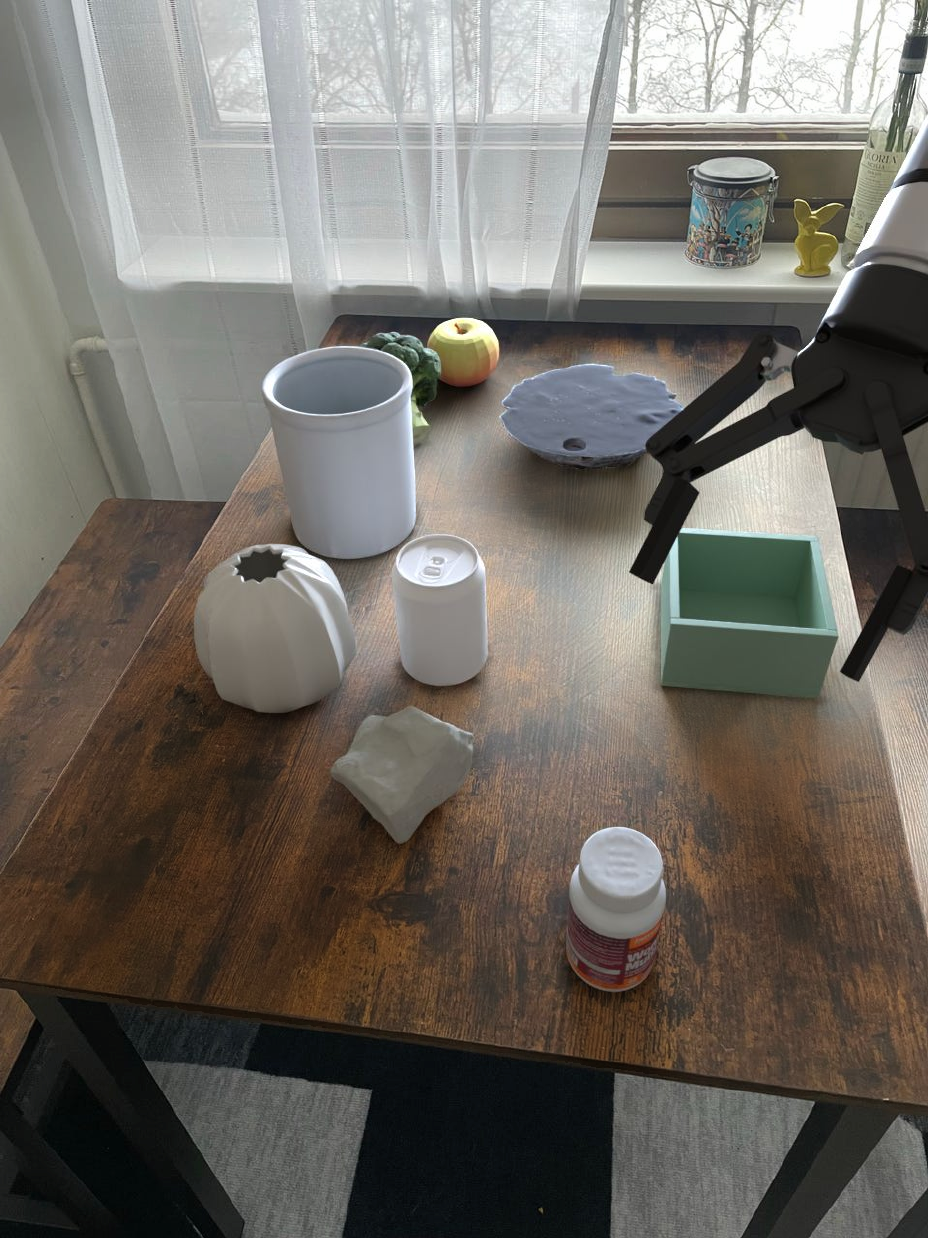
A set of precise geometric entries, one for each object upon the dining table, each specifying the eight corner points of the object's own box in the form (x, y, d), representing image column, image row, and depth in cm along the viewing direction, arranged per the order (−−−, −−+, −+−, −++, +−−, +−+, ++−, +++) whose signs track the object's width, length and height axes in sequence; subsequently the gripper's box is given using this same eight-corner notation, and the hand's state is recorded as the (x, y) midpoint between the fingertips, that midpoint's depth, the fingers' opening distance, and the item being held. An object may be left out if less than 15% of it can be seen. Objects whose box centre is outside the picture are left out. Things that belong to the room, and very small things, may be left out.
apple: (414, 376, 127) (409, 320, 122) (470, 354, 131) (468, 299, 126) (457, 403, 121) (454, 346, 116) (514, 379, 125) (514, 323, 120)
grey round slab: (593, 517, 102) (595, 478, 98) (463, 441, 114) (461, 404, 111) (717, 442, 112) (724, 404, 109) (585, 380, 125) (587, 344, 121)
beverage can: (498, 638, 88) (496, 538, 80) (473, 698, 83) (468, 598, 74) (418, 623, 90) (408, 524, 82) (388, 681, 85) (375, 581, 76)
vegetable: (347, 451, 110) (312, 351, 114) (407, 478, 120) (374, 386, 125) (426, 395, 105) (386, 293, 109) (482, 429, 115) (444, 335, 120)
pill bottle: (637, 1010, 61) (654, 922, 54) (551, 971, 64) (556, 882, 56) (665, 932, 65) (685, 841, 58) (584, 899, 68) (592, 806, 60)
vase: (365, 720, 81) (347, 607, 72) (206, 741, 80) (166, 629, 71) (356, 616, 91) (339, 505, 82) (215, 634, 90) (181, 523, 81)
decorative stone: (374, 706, 80) (432, 660, 73) (446, 781, 81) (511, 742, 73) (296, 790, 73) (353, 747, 65) (377, 871, 73) (442, 838, 66)
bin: (818, 699, 81) (838, 636, 76) (660, 685, 83) (670, 623, 78) (801, 597, 91) (818, 536, 86) (660, 587, 93) (669, 526, 88)
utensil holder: (357, 469, 111) (338, 331, 99) (450, 514, 103) (442, 371, 91) (262, 528, 103) (229, 385, 91) (356, 581, 95) (333, 433, 83)
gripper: (1149, 380, 49) (955, 729, 52) (731, 270, 62) (588, 555, 64) (1173, 321, 43) (951, 723, 45) (701, 212, 55) (544, 531, 58)
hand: (738, 625), depth 55 cm, fingers open, 13 cm apart
